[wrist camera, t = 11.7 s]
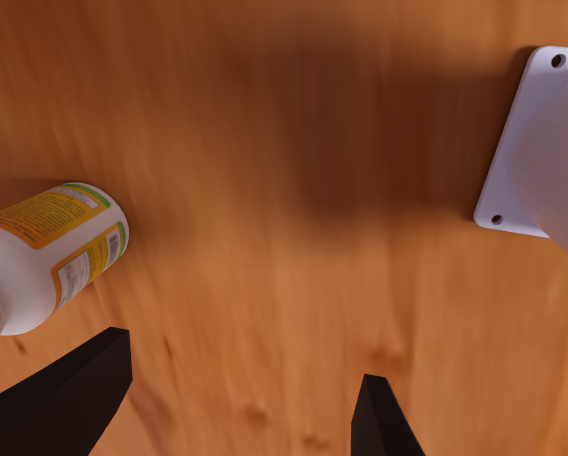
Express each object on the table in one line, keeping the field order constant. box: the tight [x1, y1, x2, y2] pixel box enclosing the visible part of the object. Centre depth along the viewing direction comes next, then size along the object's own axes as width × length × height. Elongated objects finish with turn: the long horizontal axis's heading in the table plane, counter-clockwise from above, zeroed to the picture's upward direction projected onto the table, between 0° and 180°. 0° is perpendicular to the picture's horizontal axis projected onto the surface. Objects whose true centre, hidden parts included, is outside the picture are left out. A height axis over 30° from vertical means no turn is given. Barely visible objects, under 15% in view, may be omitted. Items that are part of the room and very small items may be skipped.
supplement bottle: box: [0, 182, 129, 335], centre depth 18 cm, size 5×5×10 cm
